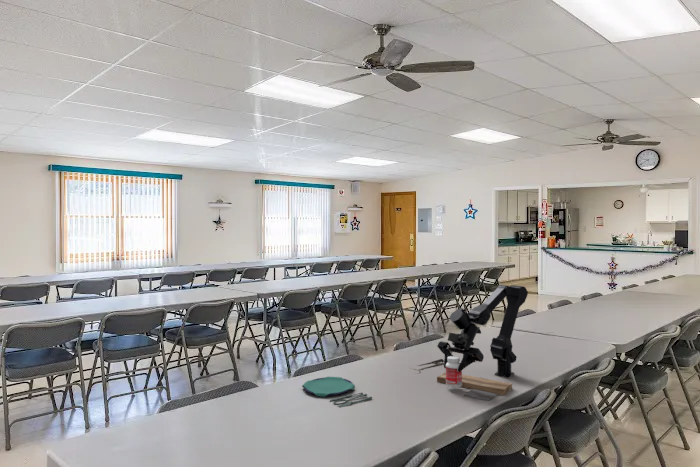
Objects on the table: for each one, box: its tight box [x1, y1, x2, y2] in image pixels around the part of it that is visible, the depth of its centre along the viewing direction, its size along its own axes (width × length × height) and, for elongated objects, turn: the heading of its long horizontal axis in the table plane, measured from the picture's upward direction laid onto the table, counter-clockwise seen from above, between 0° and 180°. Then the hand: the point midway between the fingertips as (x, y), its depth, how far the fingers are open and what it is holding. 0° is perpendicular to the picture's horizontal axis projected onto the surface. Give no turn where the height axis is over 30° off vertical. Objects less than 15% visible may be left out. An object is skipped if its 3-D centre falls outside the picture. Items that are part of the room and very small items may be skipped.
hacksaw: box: [409, 358, 444, 375], centre depth 221 cm, size 24×10×2 cm, turn 121°
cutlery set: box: [301, 376, 373, 408], centre depth 189 cm, size 20×30×2 cm, turn 31°
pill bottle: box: [445, 355, 463, 389], centre depth 190 cm, size 6×6×11 cm
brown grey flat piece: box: [436, 371, 513, 402], centre depth 191 cm, size 18×28×2 cm, turn 52°
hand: (451, 369), depth 189 cm, fingers closed on pill bottle, 6 cm apart
